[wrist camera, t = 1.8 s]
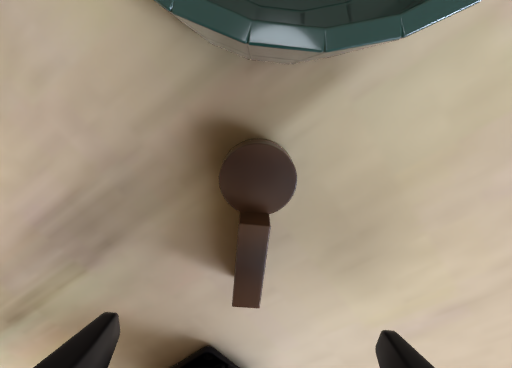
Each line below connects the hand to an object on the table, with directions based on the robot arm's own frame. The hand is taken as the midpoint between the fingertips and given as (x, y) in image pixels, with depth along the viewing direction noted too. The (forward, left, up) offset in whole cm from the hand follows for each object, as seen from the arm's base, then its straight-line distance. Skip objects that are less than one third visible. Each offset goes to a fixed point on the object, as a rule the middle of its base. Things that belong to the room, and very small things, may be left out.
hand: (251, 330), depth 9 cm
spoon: (+1, +1, -7) cm, 7 cm away
